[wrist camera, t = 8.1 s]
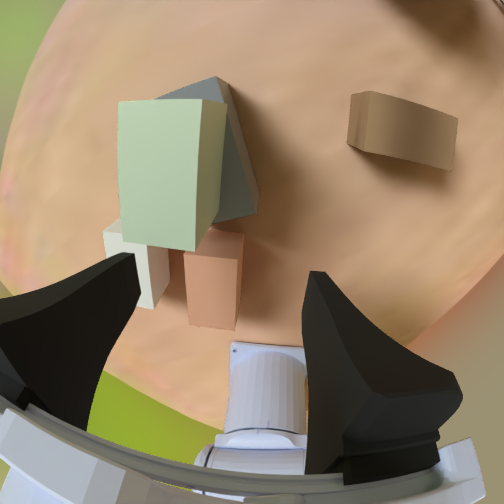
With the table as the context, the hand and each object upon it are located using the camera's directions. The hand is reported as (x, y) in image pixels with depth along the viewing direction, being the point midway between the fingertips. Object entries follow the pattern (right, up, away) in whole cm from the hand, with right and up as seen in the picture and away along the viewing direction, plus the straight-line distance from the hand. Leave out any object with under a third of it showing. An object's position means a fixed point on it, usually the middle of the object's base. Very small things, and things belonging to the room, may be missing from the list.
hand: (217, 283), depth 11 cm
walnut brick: (+11, +10, +5) cm, 15 cm away
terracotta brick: (-1, 0, +11) cm, 11 cm away
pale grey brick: (-7, +2, +11) cm, 13 cm away
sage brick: (-2, +6, +3) cm, 7 cm away
